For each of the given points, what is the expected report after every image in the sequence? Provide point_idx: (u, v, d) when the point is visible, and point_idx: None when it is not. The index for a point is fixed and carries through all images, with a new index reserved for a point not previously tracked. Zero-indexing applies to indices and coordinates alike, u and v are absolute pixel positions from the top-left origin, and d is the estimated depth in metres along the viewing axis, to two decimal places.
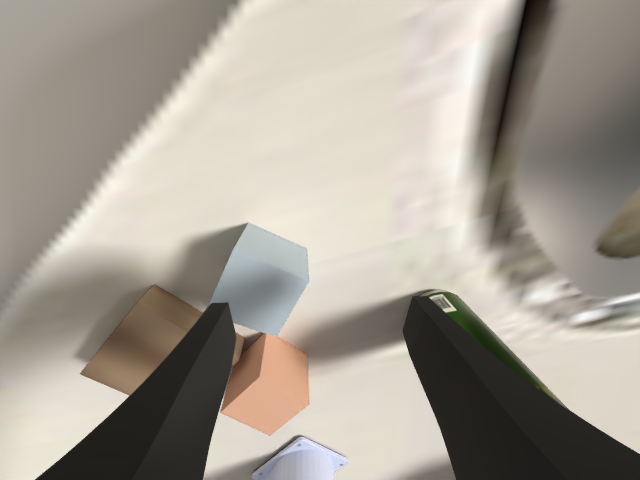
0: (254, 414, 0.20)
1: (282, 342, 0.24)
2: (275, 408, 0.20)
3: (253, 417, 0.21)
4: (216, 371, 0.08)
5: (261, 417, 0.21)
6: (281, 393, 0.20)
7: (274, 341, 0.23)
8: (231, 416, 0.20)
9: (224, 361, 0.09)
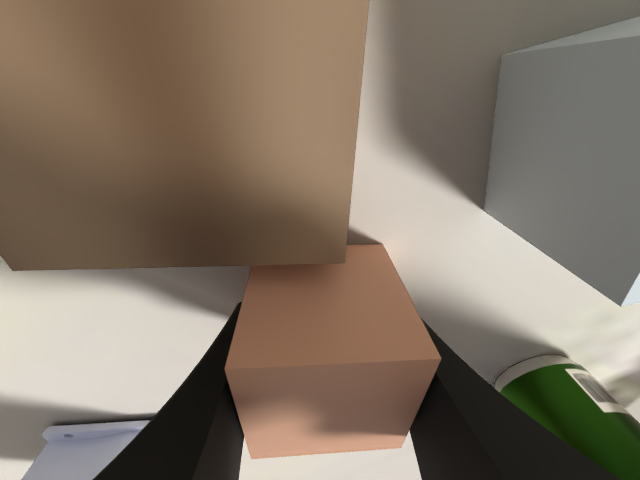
0: (291, 416, 0.07)
1: None
2: (345, 426, 0.07)
3: (280, 418, 0.07)
4: None
5: (292, 427, 0.07)
6: (404, 411, 0.07)
7: None
8: (237, 394, 0.06)
9: None
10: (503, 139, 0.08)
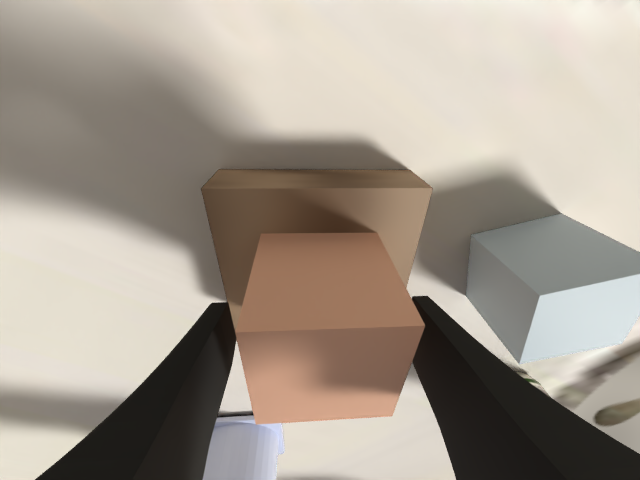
0: (293, 380, 0.08)
1: None
2: (341, 392, 0.08)
3: (282, 382, 0.08)
4: (216, 371, 0.08)
5: (293, 392, 0.08)
6: (394, 378, 0.08)
7: None
8: (245, 356, 0.07)
9: (224, 361, 0.09)
10: (473, 270, 0.15)
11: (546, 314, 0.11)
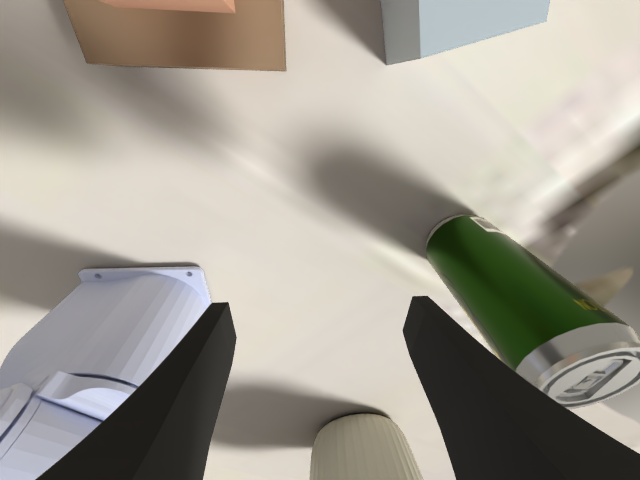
0: None
1: None
2: None
3: None
4: (216, 371, 0.08)
5: None
6: None
7: None
8: None
9: (224, 360, 0.09)
10: None
11: None
